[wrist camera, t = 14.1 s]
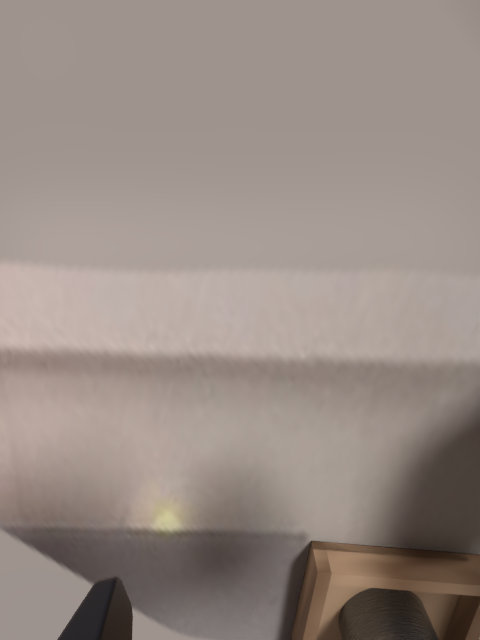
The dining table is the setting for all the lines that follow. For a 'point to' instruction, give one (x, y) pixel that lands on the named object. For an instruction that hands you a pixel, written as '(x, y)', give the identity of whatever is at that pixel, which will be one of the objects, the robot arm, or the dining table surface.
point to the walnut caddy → (388, 587)
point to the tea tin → (385, 616)
